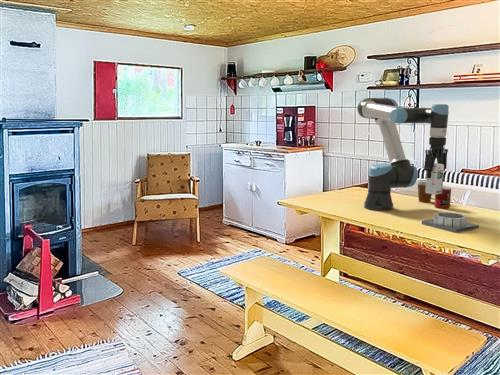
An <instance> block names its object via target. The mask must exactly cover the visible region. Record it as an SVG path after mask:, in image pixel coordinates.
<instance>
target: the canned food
mask: <svg viewBox="0 0 500 375" xmlns="http://www.w3.org/2000/svg"><path fill="white" fill-rule="evenodd" d="M451 193H452V188H451V187H449V186H443V187H442V194H436V195H434V208H435V209H441V210H449V209H450V207H451V197H452V194H451Z"/></svg>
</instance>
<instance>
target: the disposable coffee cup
mask: <svg viewBox="0 0 500 375" xmlns="http://www.w3.org/2000/svg"><path fill="white" fill-rule="evenodd" d="M416 183H417V192H418V194H417V195H418V202H420V203H425V204H427V203H431V200H432V196H433V194H428V193H425V189H426V179H417V181H416Z"/></svg>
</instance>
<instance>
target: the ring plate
mask: <svg viewBox="0 0 500 375" xmlns="http://www.w3.org/2000/svg"><path fill="white" fill-rule="evenodd" d="M421 225H424V226H429V227H433V228H436V229H440V230H443V231H447V232H452V233H461V232H466V231H471V230H478V229H479V228H480V225H479V224H475V223H471V222H468V216H467V215H465V214H463V213H458V212H451V211H449V212H448V211H438V212H435V213H434V214H433V218H430V219H425V220H421Z"/></svg>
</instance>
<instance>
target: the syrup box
mask: <svg viewBox="0 0 500 375" xmlns="http://www.w3.org/2000/svg"><path fill="white" fill-rule="evenodd" d="M432 172H433V182H432V185H427V172H426V174H425V175H426V177H425V180H426V189H425V193H428V194H432V195H434V196H435V195H436V194H442V187H444V185H443V183H444V172H445V171H444V164H439V163H434V166H433V170H432Z"/></svg>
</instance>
